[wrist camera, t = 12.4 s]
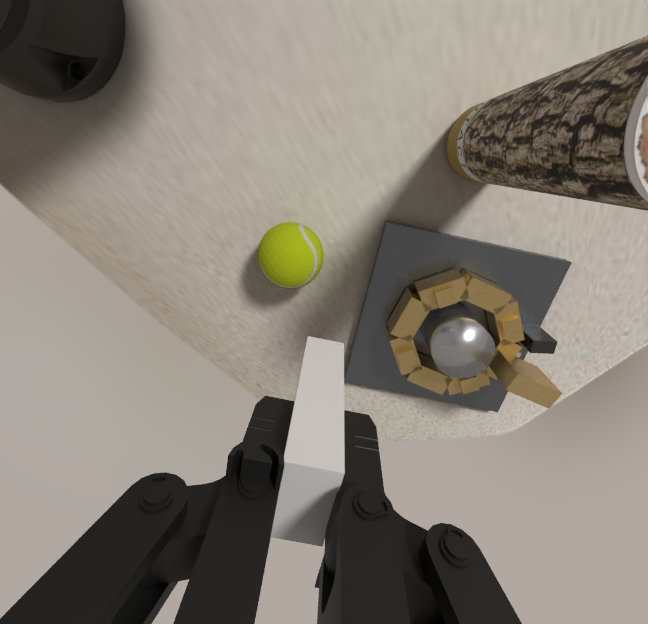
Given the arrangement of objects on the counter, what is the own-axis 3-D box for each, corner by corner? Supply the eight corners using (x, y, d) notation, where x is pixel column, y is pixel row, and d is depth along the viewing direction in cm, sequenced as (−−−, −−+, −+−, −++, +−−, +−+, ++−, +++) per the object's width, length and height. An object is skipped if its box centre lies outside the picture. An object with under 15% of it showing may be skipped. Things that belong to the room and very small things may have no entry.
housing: (344, 376, 46) (344, 412, 39) (385, 220, 38) (394, 233, 32) (494, 406, 47) (518, 446, 40) (565, 259, 39) (610, 280, 32)
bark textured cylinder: (529, 114, 34) (926, 21, 11) (497, 188, 36) (762, 239, 13) (461, 94, 33) (722, -48, 10) (434, 170, 36) (594, 190, 13)
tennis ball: (336, 255, 40) (335, 272, 34) (290, 288, 42) (280, 310, 36) (300, 204, 38) (291, 213, 32) (252, 241, 40) (236, 256, 34)
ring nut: (369, 352, 43) (375, 391, 36) (427, 251, 38) (447, 273, 31) (486, 401, 45) (513, 448, 38) (555, 312, 40) (603, 346, 32)
